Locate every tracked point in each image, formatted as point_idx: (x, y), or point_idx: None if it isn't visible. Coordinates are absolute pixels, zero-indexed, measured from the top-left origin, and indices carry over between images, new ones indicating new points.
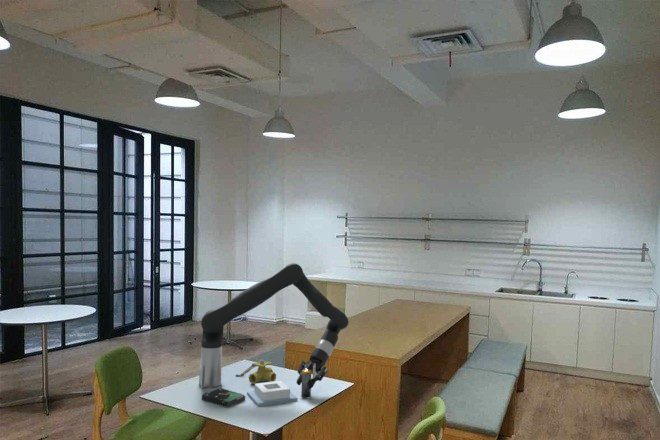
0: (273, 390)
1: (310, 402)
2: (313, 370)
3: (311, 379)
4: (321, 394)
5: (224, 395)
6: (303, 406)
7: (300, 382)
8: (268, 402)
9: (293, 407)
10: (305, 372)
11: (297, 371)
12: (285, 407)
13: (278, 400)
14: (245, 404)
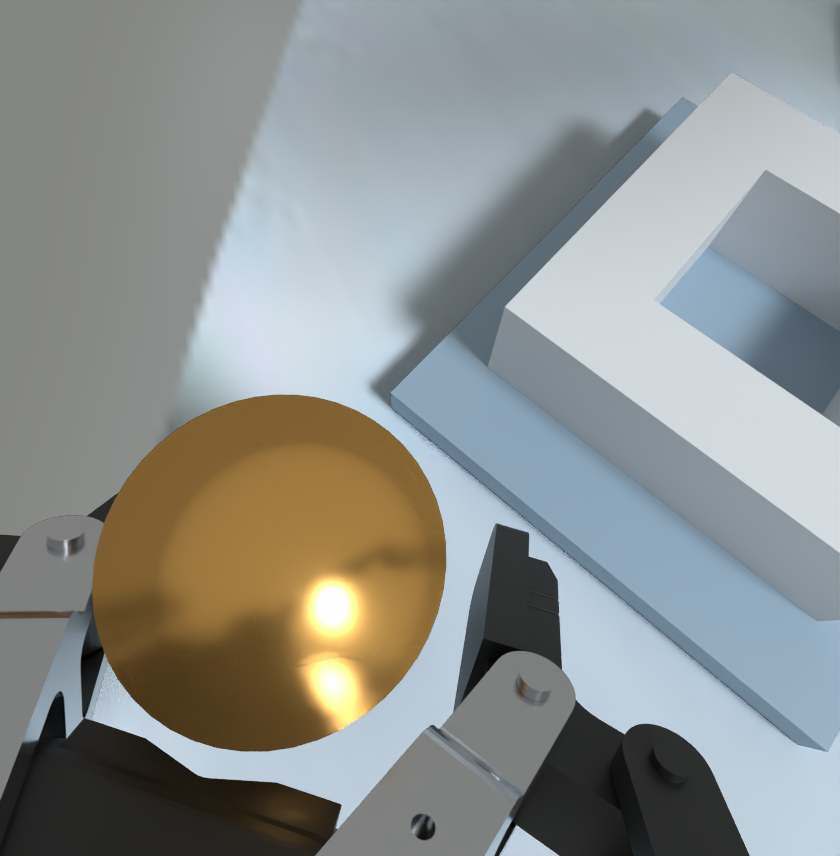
0: (671, 166)
1: None
2: (17, 674)
3: None
4: None
5: None
6: (253, 291)
7: (473, 611)
8: (616, 166)
9: (344, 230)
10: (262, 404)
11: (707, 765)
12: (420, 201)
13: (551, 233)
14: None
